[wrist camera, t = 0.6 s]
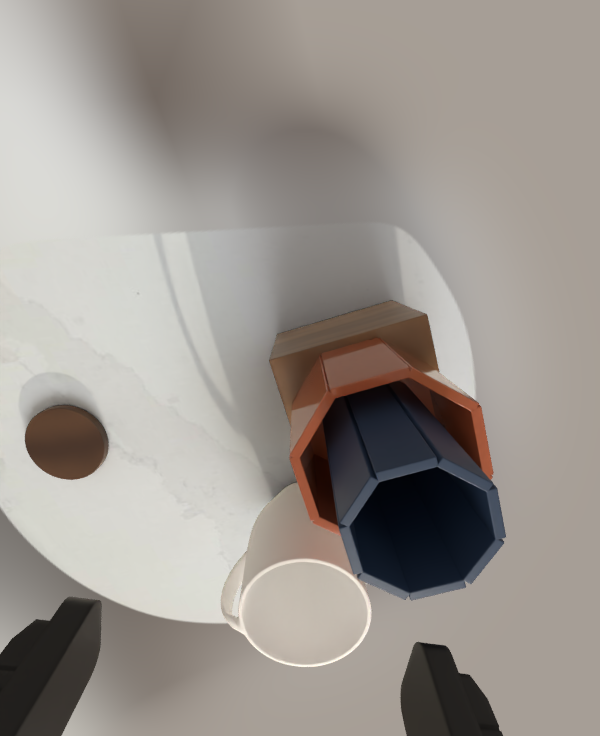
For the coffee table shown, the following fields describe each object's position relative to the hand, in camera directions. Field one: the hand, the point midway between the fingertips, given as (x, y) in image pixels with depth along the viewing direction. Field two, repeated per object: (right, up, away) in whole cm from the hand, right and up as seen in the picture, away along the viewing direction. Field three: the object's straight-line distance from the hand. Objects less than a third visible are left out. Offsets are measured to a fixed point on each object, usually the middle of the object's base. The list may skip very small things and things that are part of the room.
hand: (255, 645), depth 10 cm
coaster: (-20, 0, +25) cm, 32 cm away
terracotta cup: (+5, +4, +15) cm, 17 cm away
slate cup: (+5, +4, +14) cm, 16 cm away
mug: (0, -7, +28) cm, 28 cm away
